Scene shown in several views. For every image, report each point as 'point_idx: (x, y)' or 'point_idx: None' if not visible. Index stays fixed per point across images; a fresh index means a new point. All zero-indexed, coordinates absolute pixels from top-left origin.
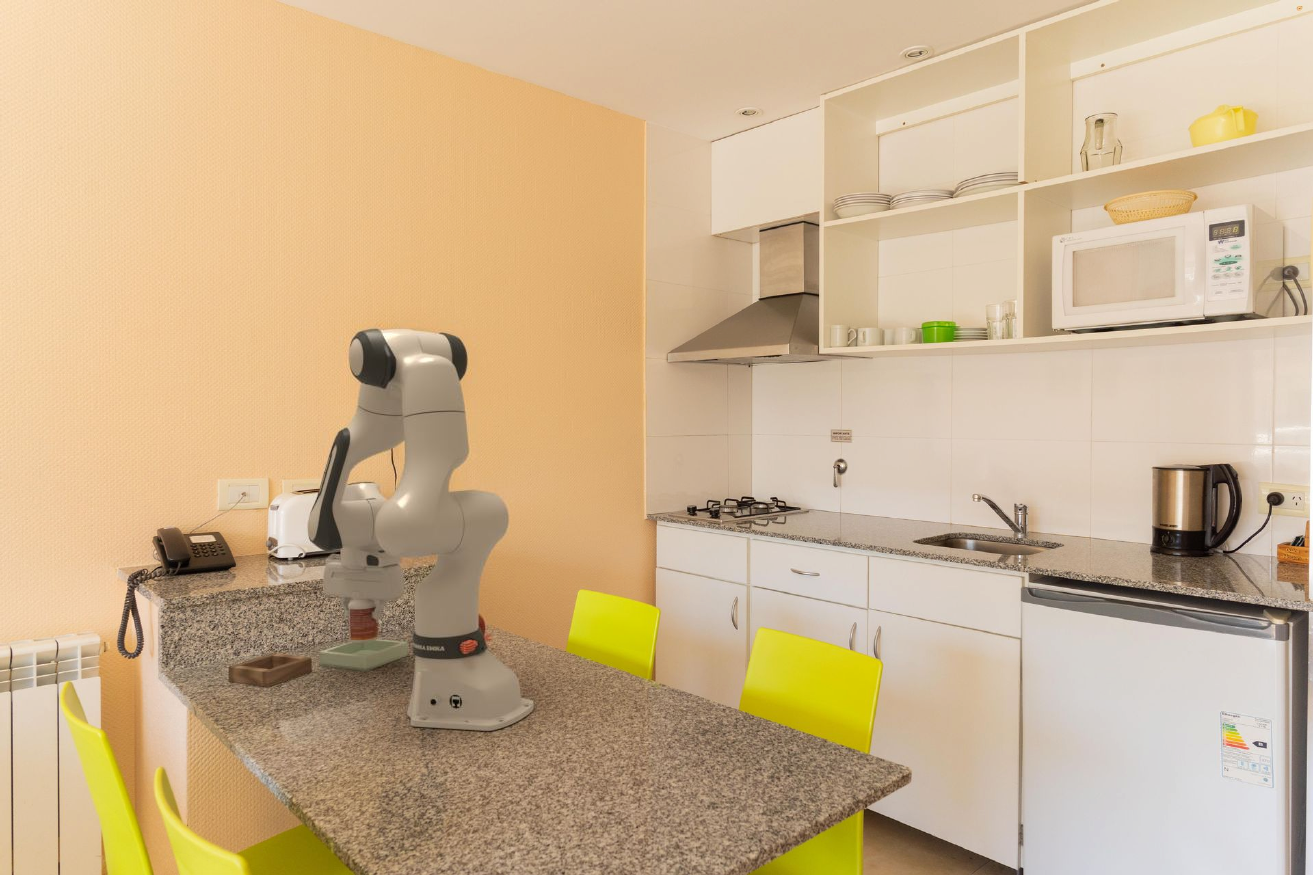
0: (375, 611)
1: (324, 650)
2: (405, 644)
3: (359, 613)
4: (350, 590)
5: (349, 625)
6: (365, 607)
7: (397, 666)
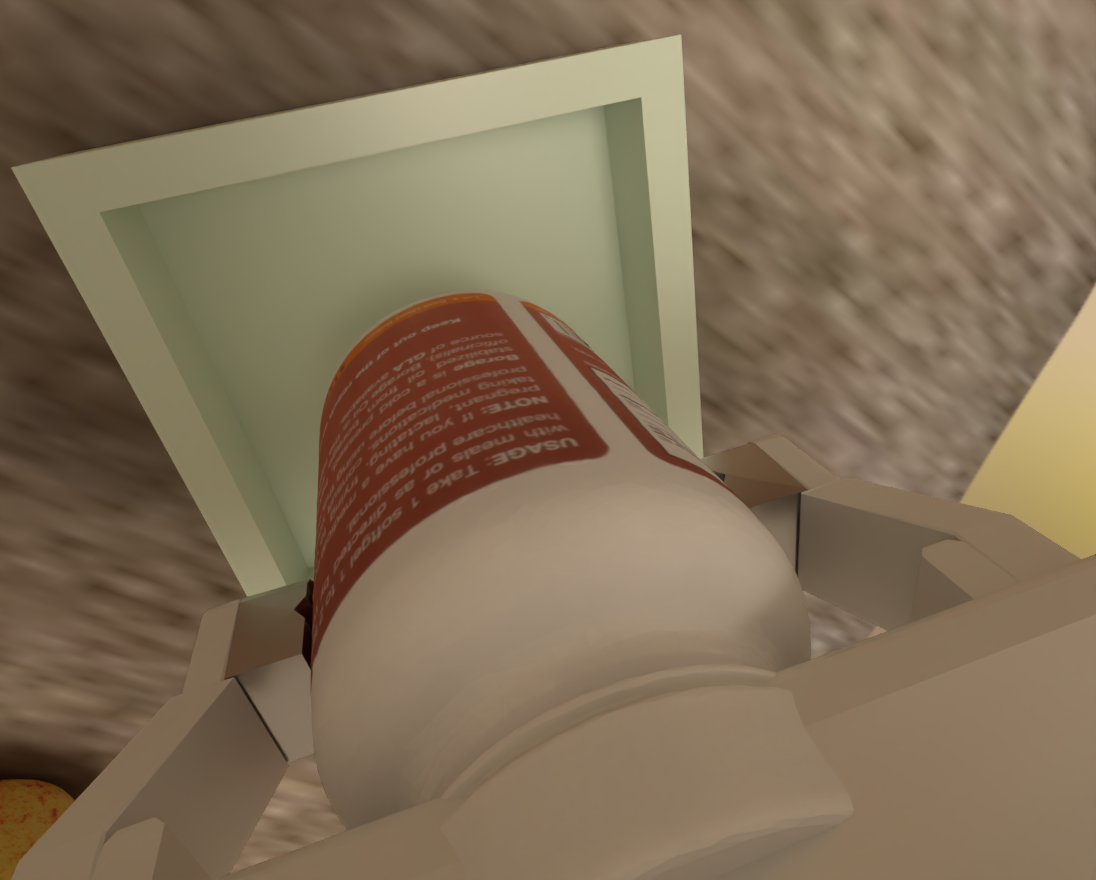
0: (196, 696)
1: (679, 109)
2: None
3: (387, 497)
4: (921, 815)
5: (553, 348)
6: (330, 647)
7: (31, 412)
